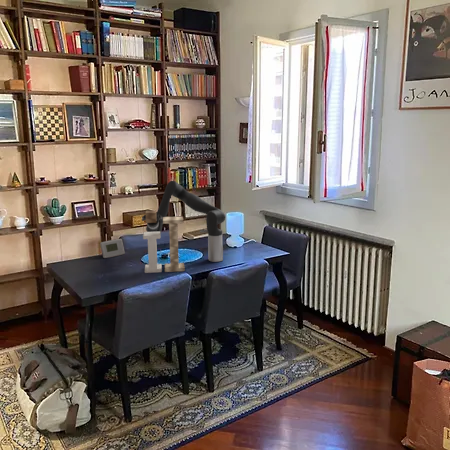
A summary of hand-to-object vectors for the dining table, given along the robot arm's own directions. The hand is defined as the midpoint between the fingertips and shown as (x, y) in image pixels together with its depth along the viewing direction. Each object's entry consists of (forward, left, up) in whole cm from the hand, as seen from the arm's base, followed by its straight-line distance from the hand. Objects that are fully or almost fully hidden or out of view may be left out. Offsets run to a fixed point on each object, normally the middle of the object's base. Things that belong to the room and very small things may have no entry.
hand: (151, 214), depth 284 cm
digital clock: (+28, -26, -34) cm, 51 cm away
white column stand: (0, +7, -34) cm, 34 cm away
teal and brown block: (0, +1, -3) cm, 3 cm away
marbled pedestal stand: (-13, +7, -34) cm, 37 cm away
